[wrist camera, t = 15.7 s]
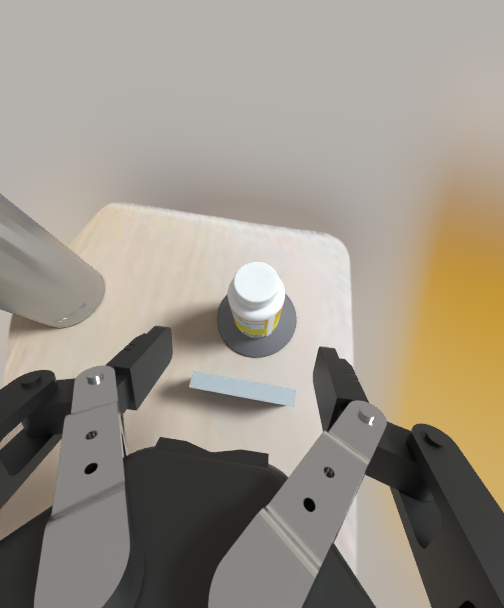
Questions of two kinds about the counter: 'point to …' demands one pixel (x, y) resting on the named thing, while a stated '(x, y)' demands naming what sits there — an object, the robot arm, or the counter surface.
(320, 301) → the counter surface
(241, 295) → the supplement bottle
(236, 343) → the resting mat
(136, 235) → the counter surface
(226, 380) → the low wall
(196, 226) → the counter surface
